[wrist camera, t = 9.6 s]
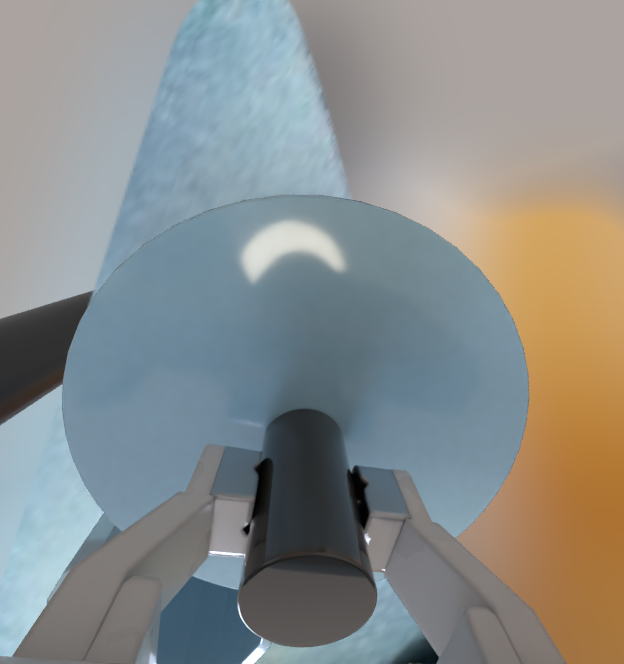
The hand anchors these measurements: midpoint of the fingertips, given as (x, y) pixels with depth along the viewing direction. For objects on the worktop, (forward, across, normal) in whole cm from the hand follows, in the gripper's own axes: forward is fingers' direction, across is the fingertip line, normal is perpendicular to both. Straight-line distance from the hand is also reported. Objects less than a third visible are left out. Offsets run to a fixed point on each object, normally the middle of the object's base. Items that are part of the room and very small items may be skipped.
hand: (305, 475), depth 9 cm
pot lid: (+2, 0, 0) cm, 2 cm away
